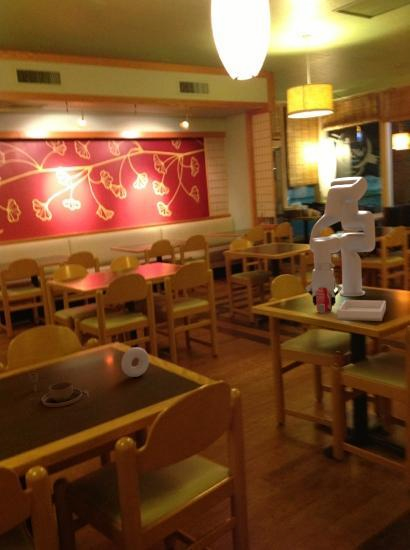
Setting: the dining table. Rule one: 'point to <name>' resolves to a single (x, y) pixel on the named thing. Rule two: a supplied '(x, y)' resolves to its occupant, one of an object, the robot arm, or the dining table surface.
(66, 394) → the place setting
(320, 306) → the soda can
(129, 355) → the donut
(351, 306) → the tray
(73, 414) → the dining table surface
